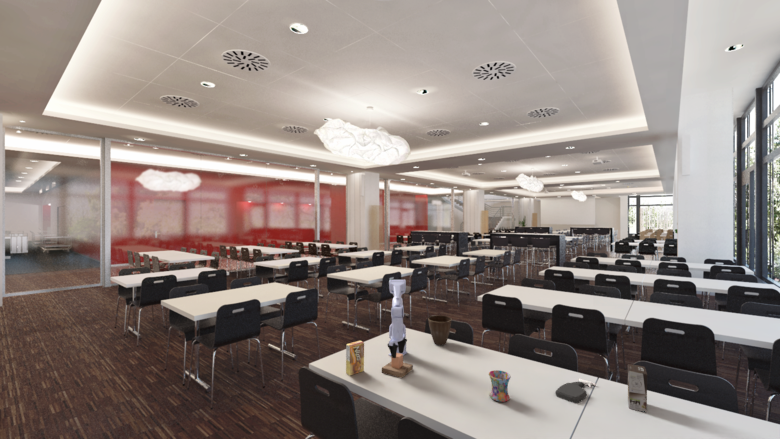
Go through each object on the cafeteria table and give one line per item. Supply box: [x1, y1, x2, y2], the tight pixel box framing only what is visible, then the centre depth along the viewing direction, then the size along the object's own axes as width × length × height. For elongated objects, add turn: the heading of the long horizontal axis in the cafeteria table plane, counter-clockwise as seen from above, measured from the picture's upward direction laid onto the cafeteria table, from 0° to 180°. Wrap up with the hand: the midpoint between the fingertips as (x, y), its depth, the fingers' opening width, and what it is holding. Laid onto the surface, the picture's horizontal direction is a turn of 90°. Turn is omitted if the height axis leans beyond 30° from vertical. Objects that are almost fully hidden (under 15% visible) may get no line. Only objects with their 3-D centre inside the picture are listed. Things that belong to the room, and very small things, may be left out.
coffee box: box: [627, 363, 648, 413], centre depth 149 cm, size 9×6×16 cm
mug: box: [488, 369, 512, 403], centre depth 157 cm, size 12×9×11 cm
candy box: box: [345, 340, 365, 376], centre depth 182 cm, size 9×4×15 cm, turn 129°
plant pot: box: [427, 315, 452, 346], centre depth 224 cm, size 15×15×16 cm
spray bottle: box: [554, 378, 597, 404], centre depth 162 cm, size 3×11×25 cm
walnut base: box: [381, 361, 414, 379], centre depth 184 cm, size 12×12×3 cm
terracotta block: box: [390, 353, 404, 369], centre depth 184 cm, size 4×4×6 cm
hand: (397, 355), depth 184 cm, fingers open, 7 cm apart
